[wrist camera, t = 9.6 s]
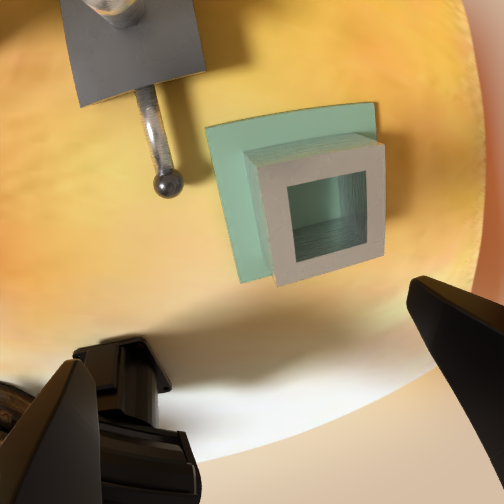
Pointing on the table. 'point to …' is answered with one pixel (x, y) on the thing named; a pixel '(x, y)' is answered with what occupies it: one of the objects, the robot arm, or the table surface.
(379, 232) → the hollow square block
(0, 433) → the owl figurine
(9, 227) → the table surface
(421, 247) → the table surface
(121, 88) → the vise block
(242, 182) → the felt pad
